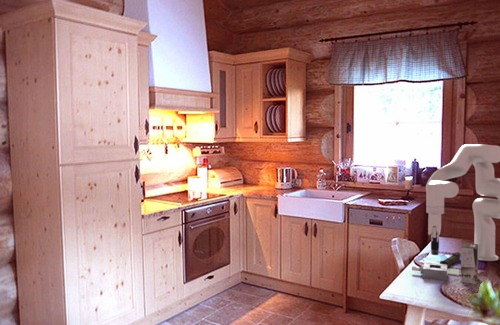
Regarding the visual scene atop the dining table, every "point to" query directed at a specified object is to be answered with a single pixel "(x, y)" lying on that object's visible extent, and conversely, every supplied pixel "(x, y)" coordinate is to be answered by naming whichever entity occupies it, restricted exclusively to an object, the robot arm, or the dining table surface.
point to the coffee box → (469, 263)
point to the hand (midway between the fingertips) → (435, 248)
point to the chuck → (433, 271)
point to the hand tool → (451, 259)
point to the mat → (453, 271)
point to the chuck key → (435, 252)
